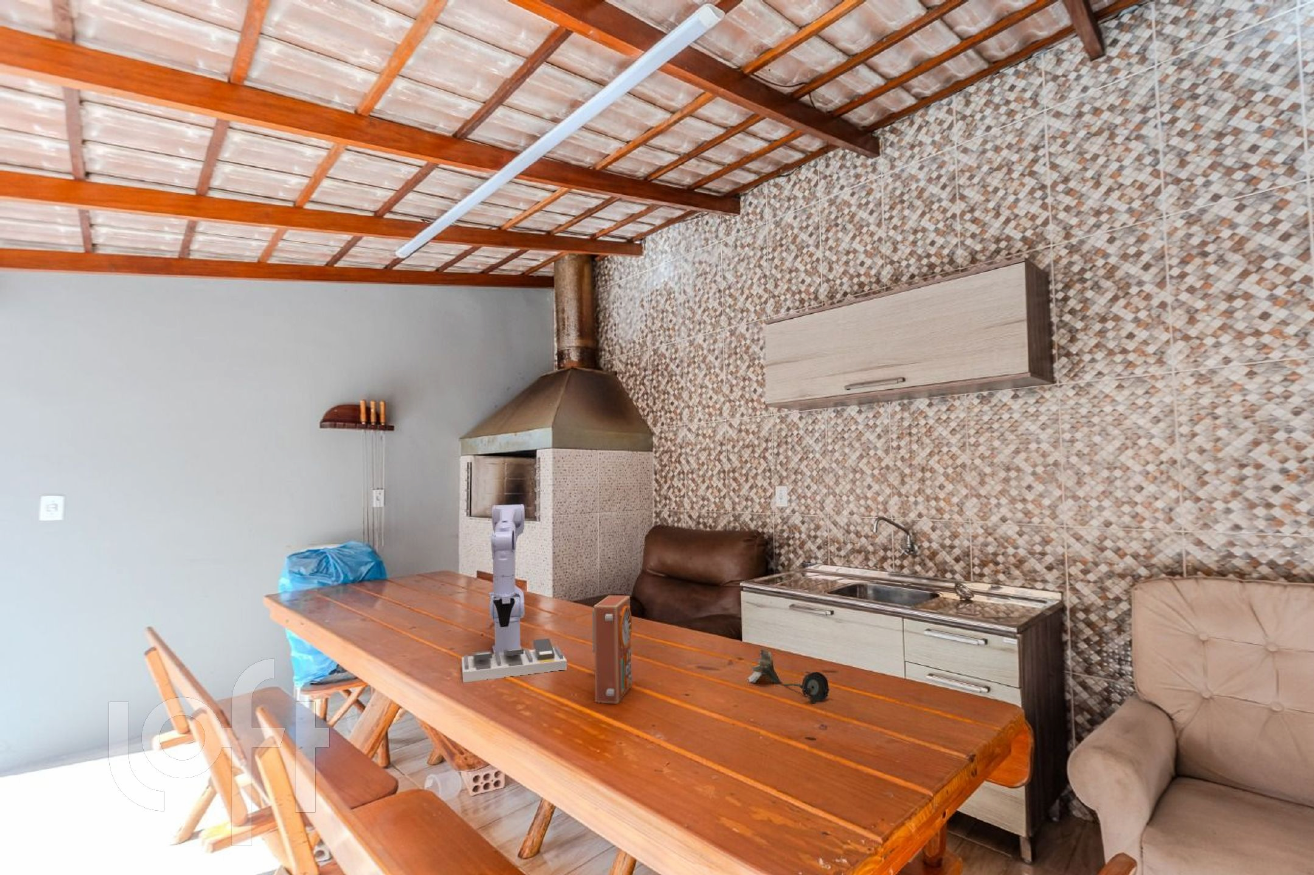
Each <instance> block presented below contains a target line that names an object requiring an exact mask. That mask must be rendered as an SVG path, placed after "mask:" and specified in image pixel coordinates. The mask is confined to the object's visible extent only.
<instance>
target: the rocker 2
mask: <svg viewBox="0 0 1314 875" xmlns="http://www.w3.org/2000/svg"><path fill="white" fill-rule="evenodd" d="M532 642H533V644H532V645H533V648H534V650H535V652H536V656H537V659H538V660H541V659H550V658H554V656H555V654H554V651H553V648H554V647H553V644H552V642H551V639H550V637H549V638H539V639H533V641H532Z"/></svg>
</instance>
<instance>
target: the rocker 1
mask: <svg viewBox="0 0 1314 875" xmlns="http://www.w3.org/2000/svg"><path fill="white" fill-rule="evenodd" d="M492 654H493V652H491V650H485V651H477V652H476V651H475V652H474V651H473V652H472V656H473V658H474V660H481V659H490V658H492Z"/></svg>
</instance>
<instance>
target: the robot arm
mask: <svg viewBox="0 0 1314 875" xmlns="http://www.w3.org/2000/svg"><path fill="white" fill-rule="evenodd" d="M525 510H526V509H525V505H524V504H523V503H521V504H500V505H499V504H498V505H497V504H494V505H492V507H491V523H492V531H493V533H491V536H490V549H491V558H492V559H491V560H493V561H492V591H490V592H488V596H489V597H490V600H489V619H490V620H491V621H493V623H494V645H492V650H493V652H492V653H493V654H495V652H498V653H504V650H509V649H519V648H521V649H523V647H522V646H521V619H523V618H524V617H525V593H524V592H523V590H522V589H521V588H519V587H518V586H517V585H516V549H517V540H518V537H519V536H521V535H522V534H524V530H525V519H526V518H525V515H526V514H525Z"/></svg>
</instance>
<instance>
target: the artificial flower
mask: <svg viewBox="0 0 1314 875" xmlns="http://www.w3.org/2000/svg"><path fill="white" fill-rule="evenodd" d="M758 656H759V657H758V658H757V662H758V665H757V666H752V665H750V664H749V663H747V666H749V667H750V669H751V670H752V671H754V672H753V673H752V674H750V675H749V676H748V677H747V678H748V679H749V681H748V682H750V683H756V682H757V680H758V679H760V677H766V678H767V679H769V681H770V682H772V683H775V684H777V685H781V686H784V687H790V686H791V687H792V686H794V687H799V688H800V689H801V690H802V691H801V692H802V694H803V696H805V695H806V696H807V697H808V700H810V702H811V703H813V704H814V705H815V704H816V703H822V702H824V701H825V700H826V699H827V698H828V697H829V695H828V694H829V693H830V688H829V680H828V678H827V677H826V676H825V675H824V674H823V673H821V672H818V671H814V672H813V671H812V672H809V673H807V674H805V675H804V677H803V679H802V683H801V684H800V683H783V682H781V679H780V677H779V676H778V674H777V672H776V670H775V668H774V660H773V658H772V653H771V652H770V651H767V650H765V649H760V650H759V652H758Z"/></svg>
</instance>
